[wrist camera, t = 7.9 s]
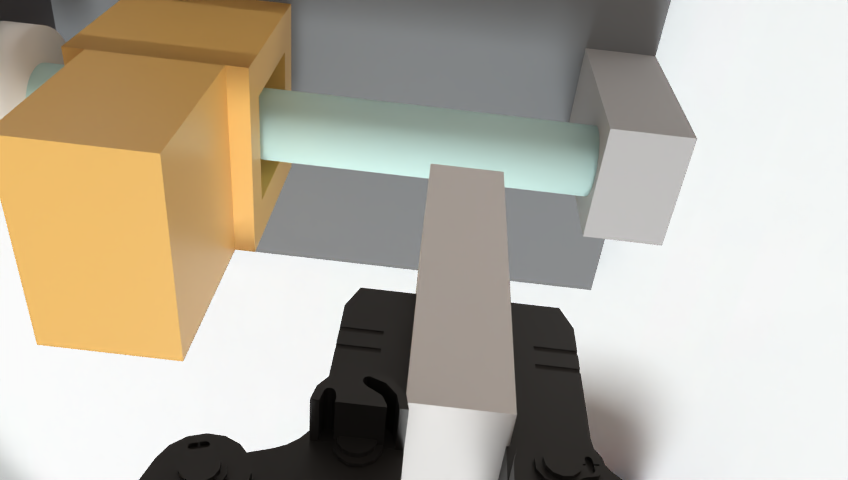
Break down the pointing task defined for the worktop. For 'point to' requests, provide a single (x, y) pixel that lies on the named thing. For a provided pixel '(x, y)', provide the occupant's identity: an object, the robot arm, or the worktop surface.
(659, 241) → the linear slide with carriage
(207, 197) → the sleeve
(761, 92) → the worktop surface
